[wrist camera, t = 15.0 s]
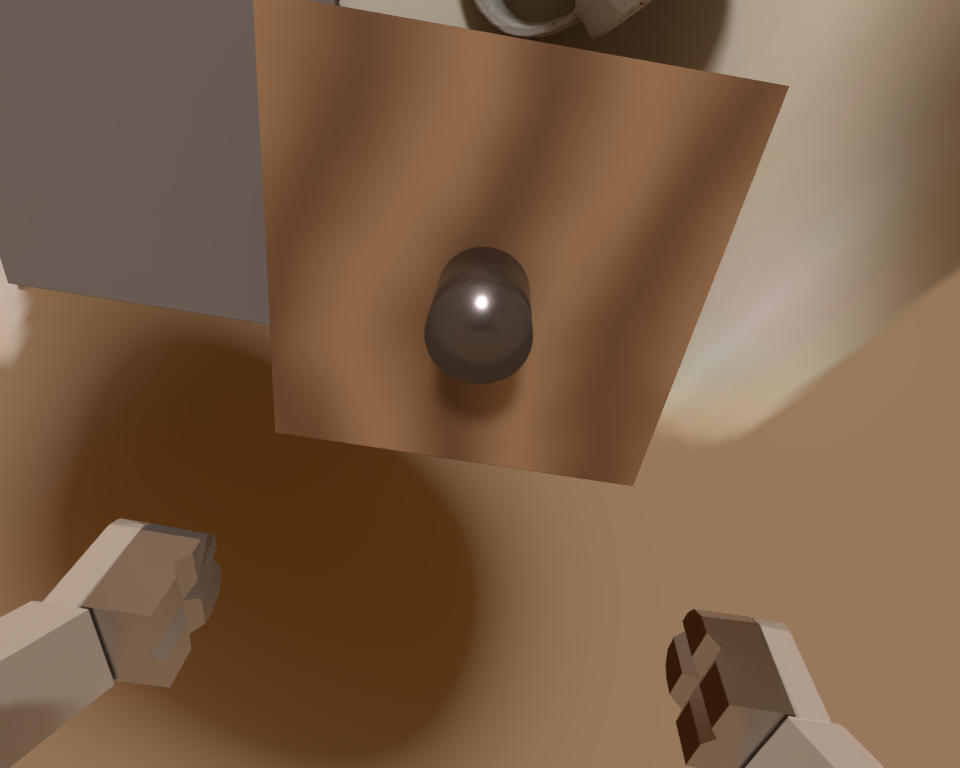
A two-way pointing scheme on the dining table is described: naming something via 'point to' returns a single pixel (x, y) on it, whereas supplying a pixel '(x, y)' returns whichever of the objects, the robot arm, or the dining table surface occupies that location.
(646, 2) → the ceramic mug
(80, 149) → the mat
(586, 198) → the lid
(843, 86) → the dining table surface
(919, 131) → the dining table surface
